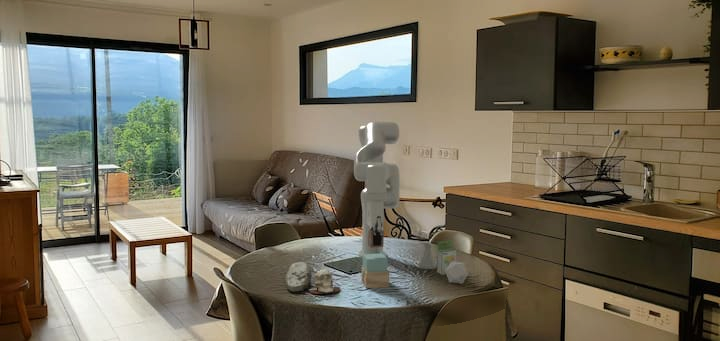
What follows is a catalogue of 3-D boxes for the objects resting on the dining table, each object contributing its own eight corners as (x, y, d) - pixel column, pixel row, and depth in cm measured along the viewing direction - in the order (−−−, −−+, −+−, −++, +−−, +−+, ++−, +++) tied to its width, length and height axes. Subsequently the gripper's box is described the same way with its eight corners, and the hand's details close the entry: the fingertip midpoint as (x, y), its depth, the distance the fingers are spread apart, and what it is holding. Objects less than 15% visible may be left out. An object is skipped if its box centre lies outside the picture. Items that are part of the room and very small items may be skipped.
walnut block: (367, 244, 227) (368, 229, 227) (380, 244, 228) (380, 228, 228) (370, 247, 223) (370, 231, 222) (383, 247, 223) (383, 231, 223)
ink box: (442, 275, 239) (442, 243, 237) (436, 273, 242) (437, 241, 241) (456, 273, 242) (456, 241, 240) (450, 271, 245) (451, 239, 244)
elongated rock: (311, 270, 250) (288, 272, 249) (311, 258, 250) (287, 259, 249) (311, 292, 215) (283, 294, 214) (310, 278, 215) (283, 279, 214)
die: (456, 288, 224) (471, 268, 225) (438, 274, 228) (453, 254, 228) (459, 290, 232) (474, 270, 232) (442, 276, 235) (456, 257, 236)
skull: (347, 290, 215) (329, 272, 212) (326, 311, 214) (308, 293, 210) (337, 280, 226) (320, 262, 223) (318, 299, 225) (300, 282, 221)
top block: (362, 266, 230) (362, 254, 229) (382, 265, 231) (382, 253, 231) (366, 272, 222) (367, 259, 222) (387, 271, 224) (387, 258, 223)
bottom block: (361, 281, 231) (361, 266, 230) (383, 280, 233) (384, 265, 232) (365, 288, 222) (366, 272, 221) (389, 287, 224) (389, 271, 223)
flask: (435, 270, 247) (435, 247, 246) (417, 269, 248) (418, 246, 247) (436, 266, 254) (437, 243, 253) (419, 264, 255) (420, 242, 254)
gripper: (362, 193, 231) (361, 239, 233) (371, 200, 214) (370, 249, 216) (380, 193, 233) (380, 238, 234) (391, 200, 216) (390, 248, 218)
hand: (375, 243), depth 225 cm, fingers closed on walnut block, 5 cm apart
